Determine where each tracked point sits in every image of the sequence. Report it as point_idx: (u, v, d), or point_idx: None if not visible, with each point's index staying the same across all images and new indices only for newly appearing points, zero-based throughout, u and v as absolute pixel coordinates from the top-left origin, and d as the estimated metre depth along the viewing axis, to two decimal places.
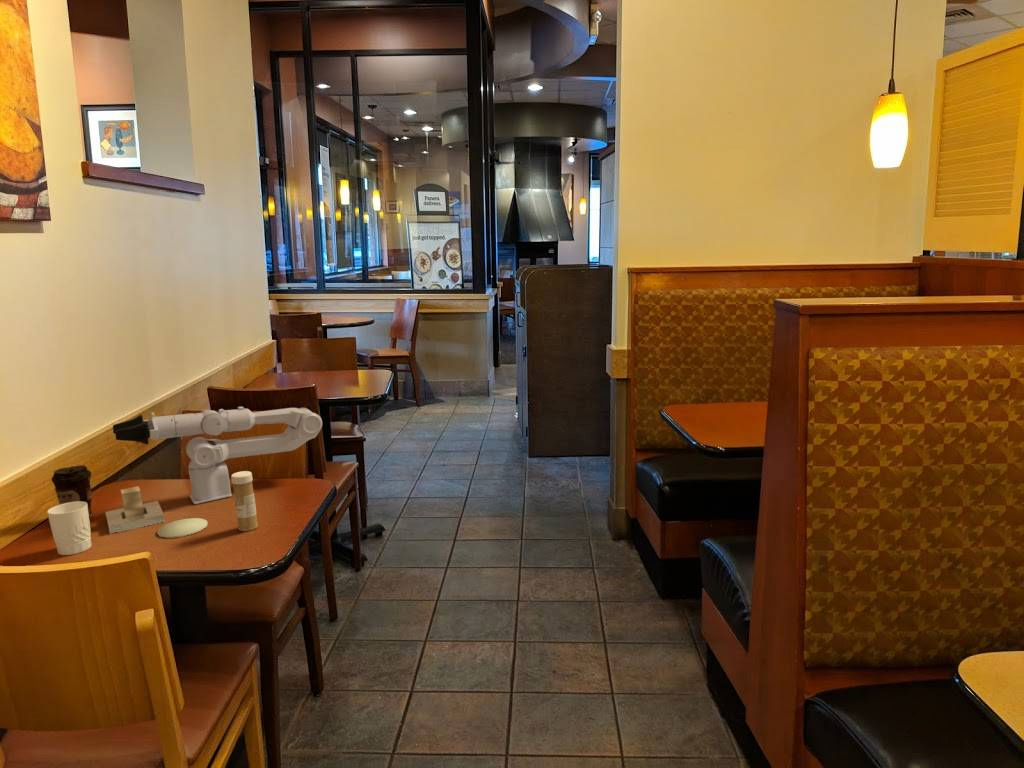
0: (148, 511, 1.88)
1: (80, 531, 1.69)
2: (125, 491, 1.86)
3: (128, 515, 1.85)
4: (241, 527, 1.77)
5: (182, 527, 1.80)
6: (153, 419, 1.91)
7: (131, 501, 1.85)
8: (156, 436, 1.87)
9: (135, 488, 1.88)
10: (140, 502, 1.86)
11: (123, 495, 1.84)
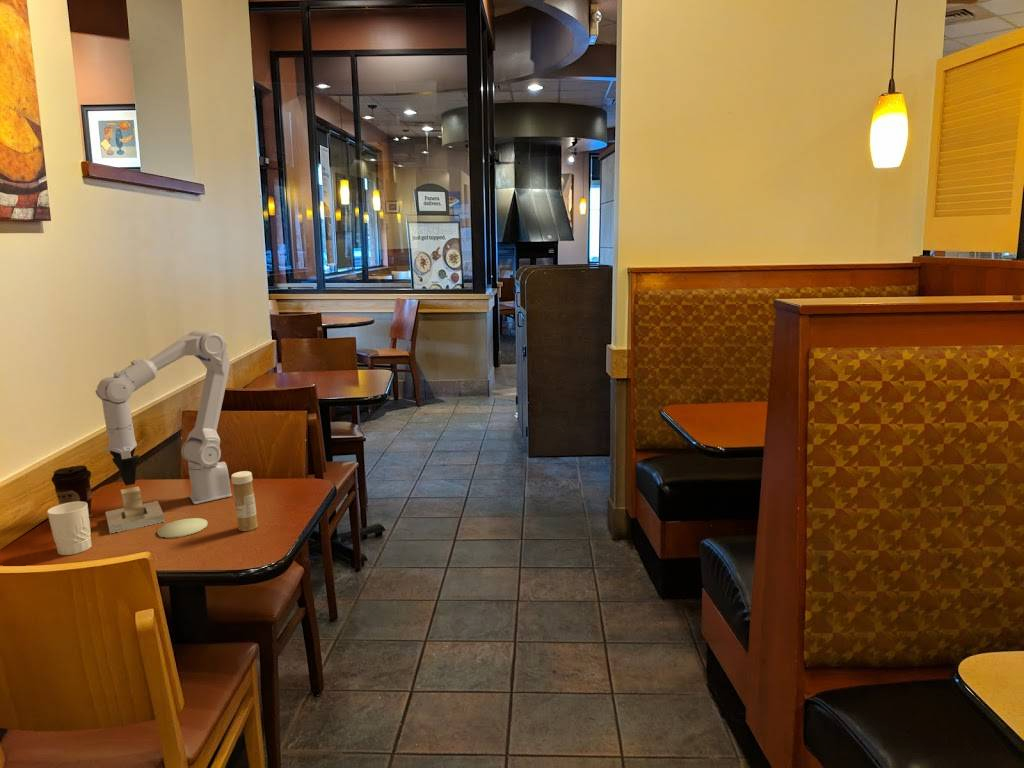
0: (148, 511, 1.88)
1: (80, 531, 1.69)
2: (125, 491, 1.86)
3: (128, 515, 1.85)
4: (241, 527, 1.77)
5: (182, 527, 1.80)
6: (111, 449, 1.81)
7: (131, 501, 1.85)
8: (128, 452, 1.78)
9: (135, 488, 1.88)
10: (140, 502, 1.86)
11: (123, 495, 1.84)
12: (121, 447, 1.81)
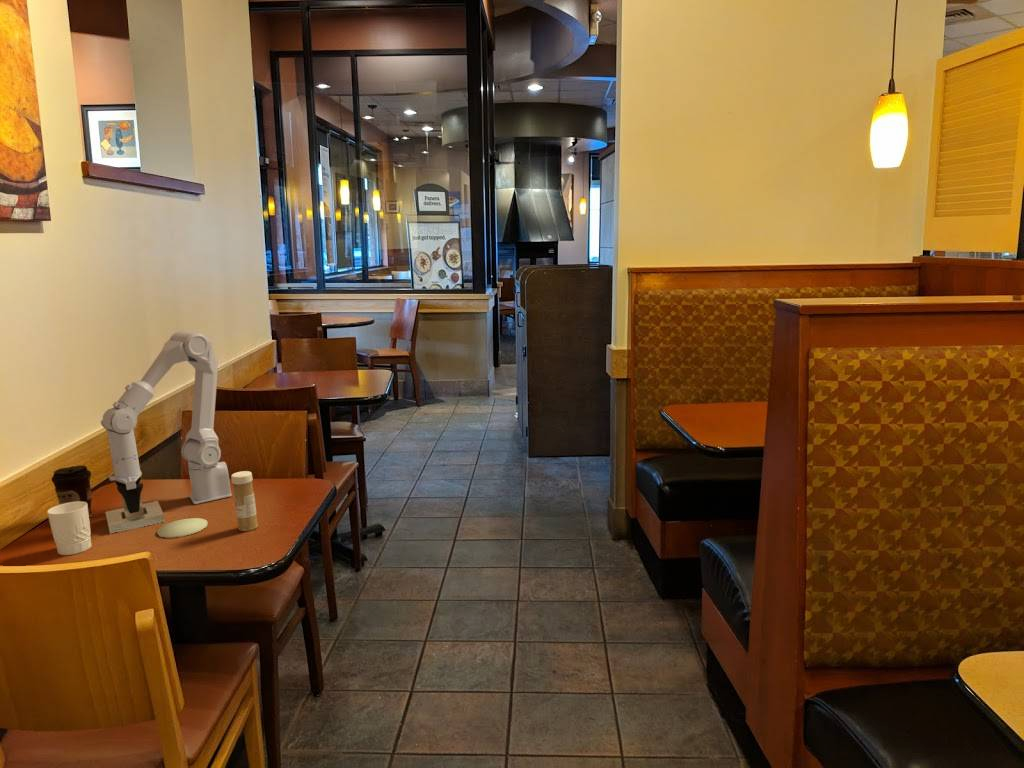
0: (148, 511, 1.88)
1: (80, 531, 1.69)
2: None
3: (128, 515, 1.85)
4: (241, 527, 1.77)
5: (182, 527, 1.80)
6: (116, 479, 1.83)
7: None
8: (133, 482, 1.80)
9: None
10: (140, 502, 1.86)
11: None
12: (126, 477, 1.83)
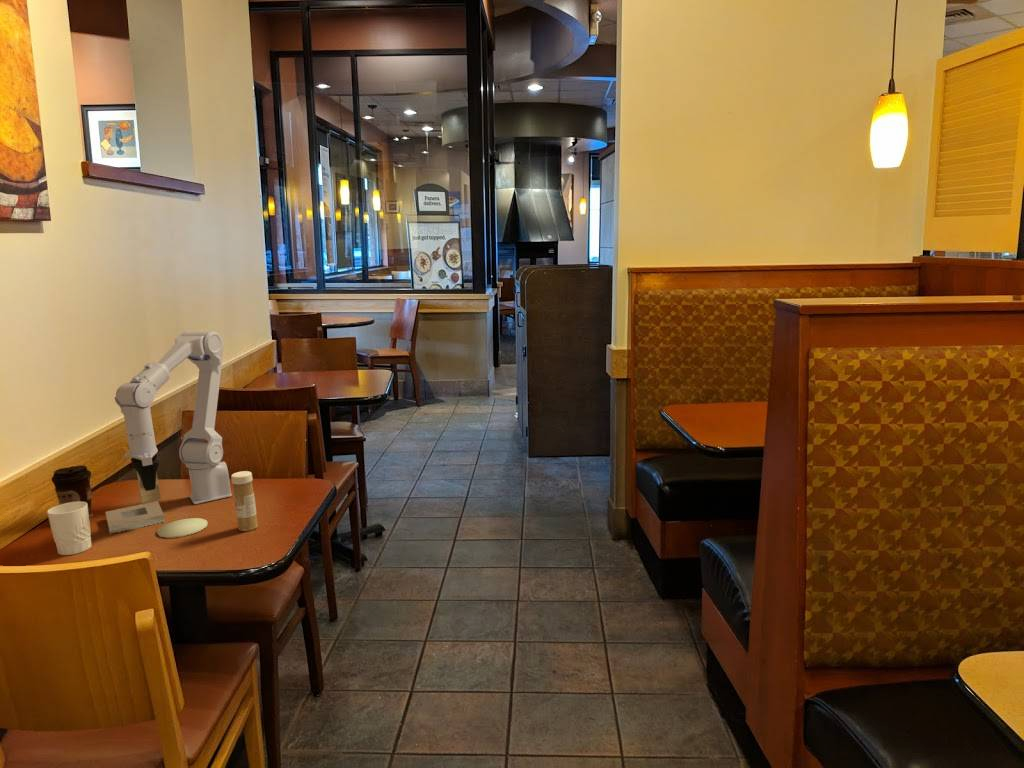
0: (148, 511, 1.88)
1: (80, 531, 1.69)
2: None
3: (144, 493, 1.81)
4: (241, 527, 1.77)
5: (182, 527, 1.80)
6: (131, 455, 1.79)
7: None
8: (149, 459, 1.75)
9: None
10: (156, 479, 1.82)
11: None
12: (142, 453, 1.78)
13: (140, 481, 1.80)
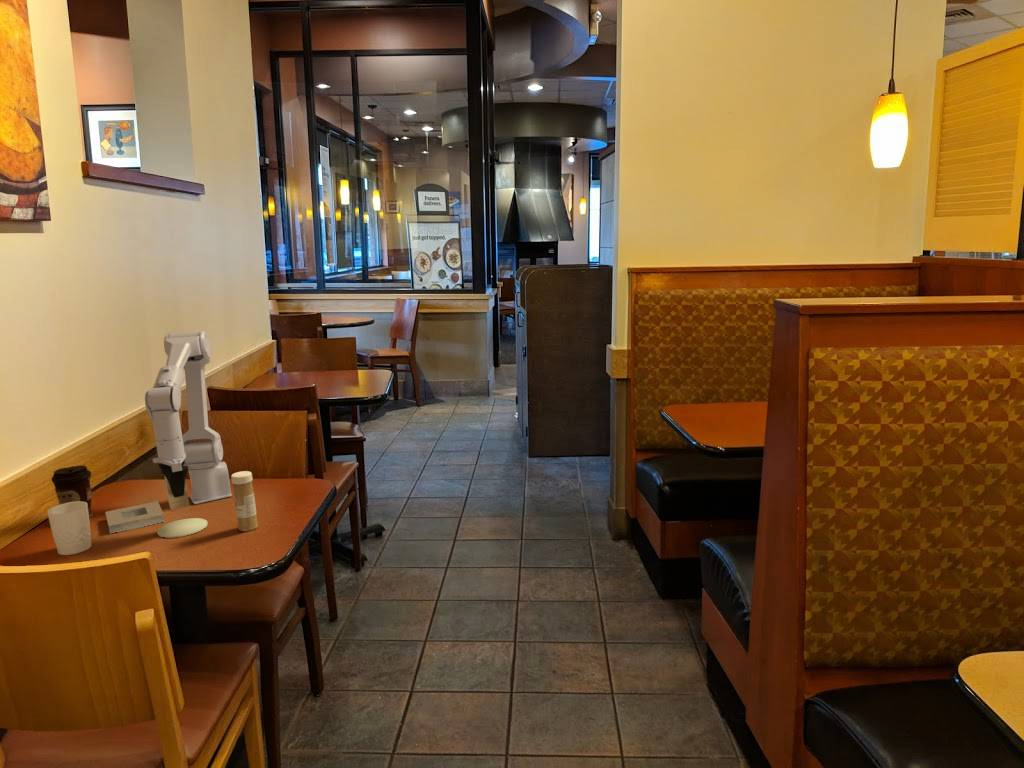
0: (148, 511, 1.88)
1: (80, 531, 1.69)
2: None
3: (172, 499, 1.77)
4: (241, 527, 1.77)
5: (182, 527, 1.80)
6: (160, 461, 1.74)
7: None
8: (179, 465, 1.71)
9: None
10: None
11: None
12: (171, 459, 1.74)
13: (169, 487, 1.76)
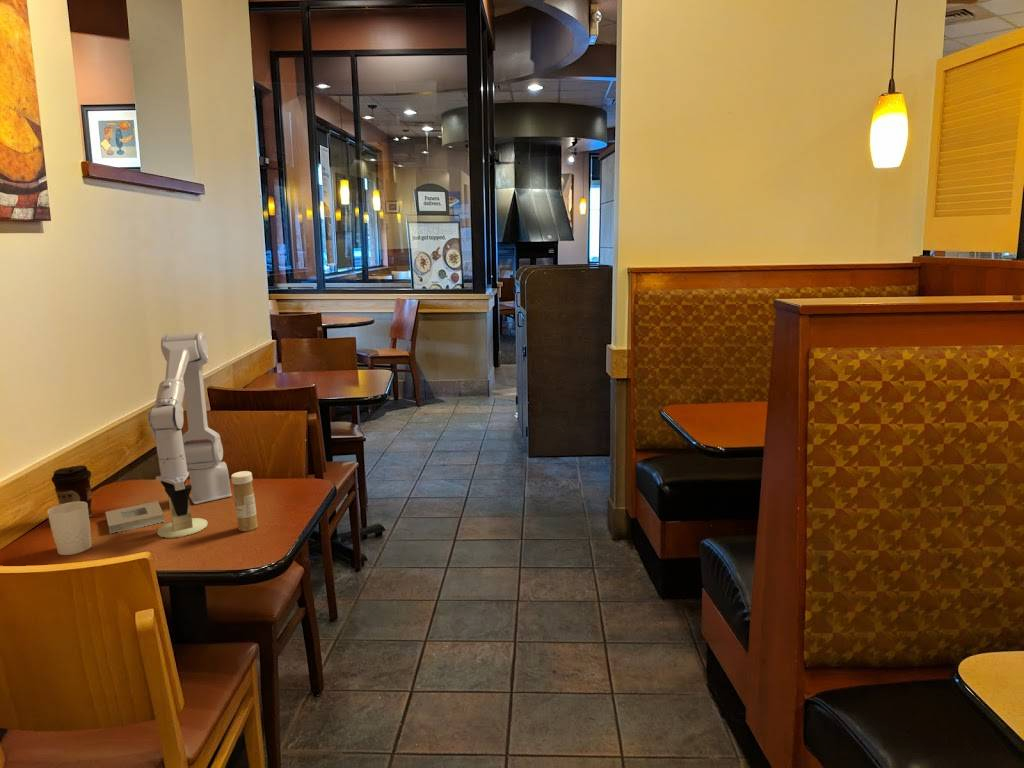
0: (148, 511, 1.88)
1: (80, 531, 1.69)
2: None
3: (176, 521, 1.78)
4: (241, 527, 1.77)
5: None
6: (163, 479, 1.75)
7: None
8: (182, 483, 1.72)
9: None
10: (188, 507, 1.79)
11: None
12: (174, 477, 1.75)
13: (172, 509, 1.77)
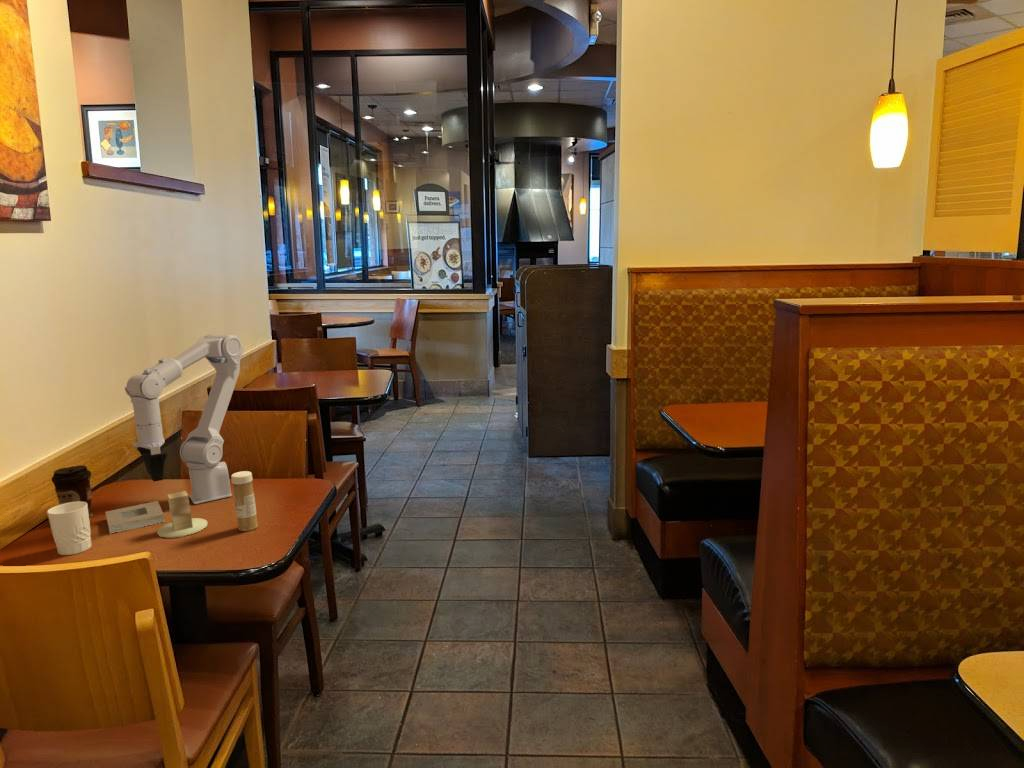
0: (148, 511, 1.88)
1: (80, 531, 1.69)
2: (172, 496, 1.78)
3: (176, 521, 1.78)
4: (241, 527, 1.77)
5: None
6: (140, 445, 1.83)
7: (178, 506, 1.78)
8: (158, 448, 1.81)
9: (182, 493, 1.80)
10: (188, 507, 1.79)
11: (171, 500, 1.77)
12: (150, 443, 1.83)
13: (172, 509, 1.77)
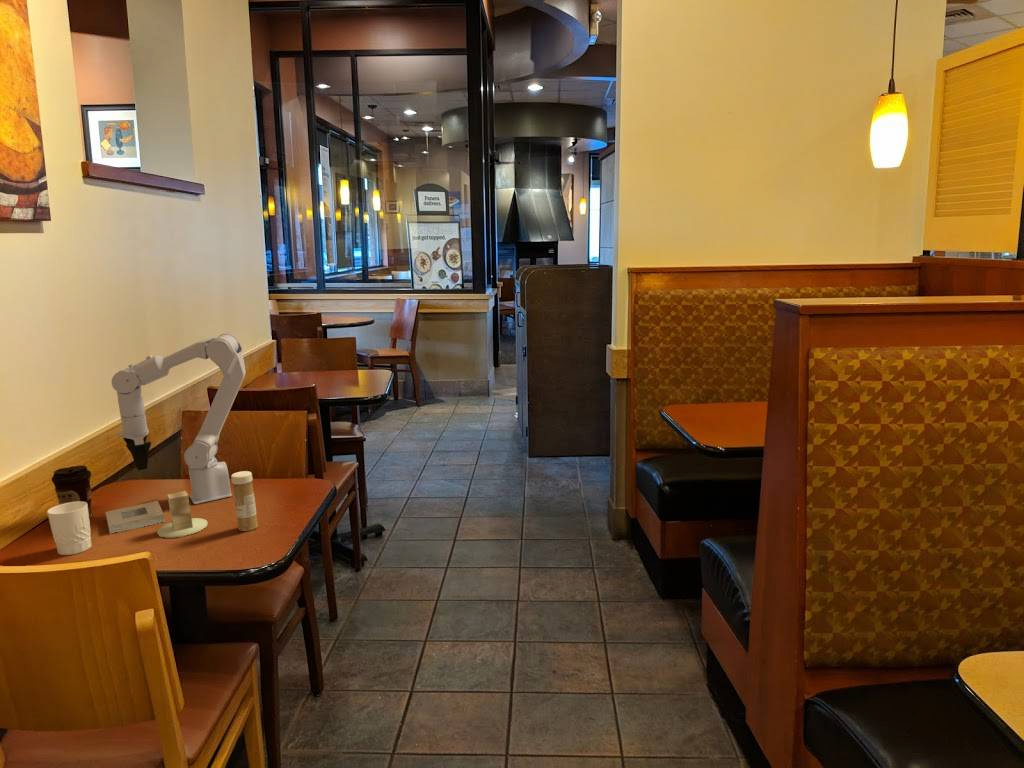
0: (148, 511, 1.88)
1: (80, 531, 1.69)
2: (172, 496, 1.78)
3: (176, 521, 1.78)
4: (241, 527, 1.77)
5: None
6: (125, 436, 1.94)
7: (178, 506, 1.78)
8: (141, 439, 1.91)
9: (182, 493, 1.80)
10: (188, 507, 1.79)
11: (171, 500, 1.77)
12: (134, 434, 1.94)
13: (172, 509, 1.77)
